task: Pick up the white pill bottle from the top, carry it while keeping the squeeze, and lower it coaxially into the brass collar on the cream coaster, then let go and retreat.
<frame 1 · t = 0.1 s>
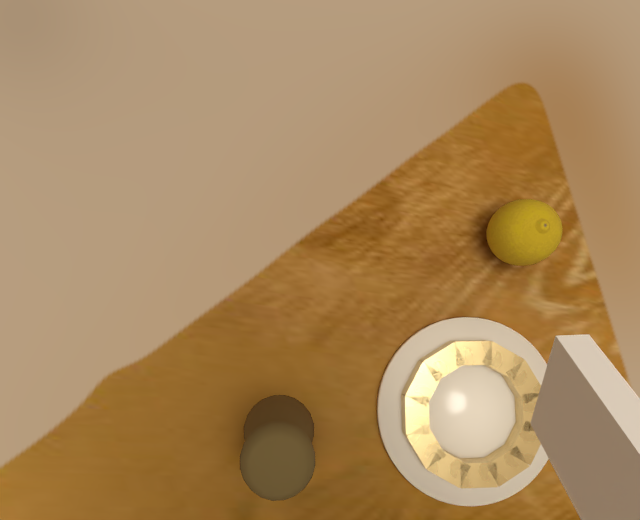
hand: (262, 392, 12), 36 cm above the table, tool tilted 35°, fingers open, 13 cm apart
coaster: (466, 408, 48), on the table
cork: (279, 430, 47), on the table
lemon: (502, 239, 50), on the table
collar: (473, 411, 47), on the coaster, point 1 cm above the table
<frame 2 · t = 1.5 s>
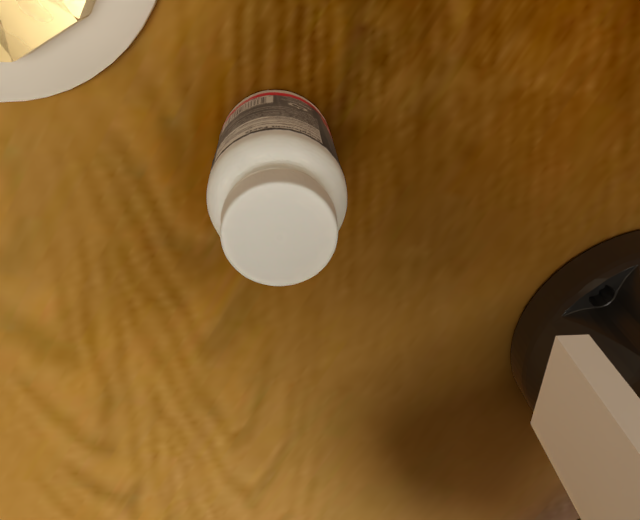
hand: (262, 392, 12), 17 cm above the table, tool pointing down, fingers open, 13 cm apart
pill bottle: (276, 141, 27), on the table
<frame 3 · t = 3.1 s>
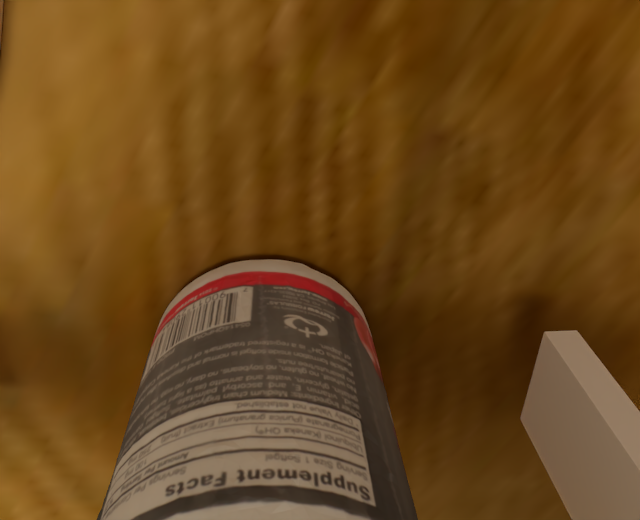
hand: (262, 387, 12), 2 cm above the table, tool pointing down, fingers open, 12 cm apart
pill bottle: (266, 337, 14), on the table
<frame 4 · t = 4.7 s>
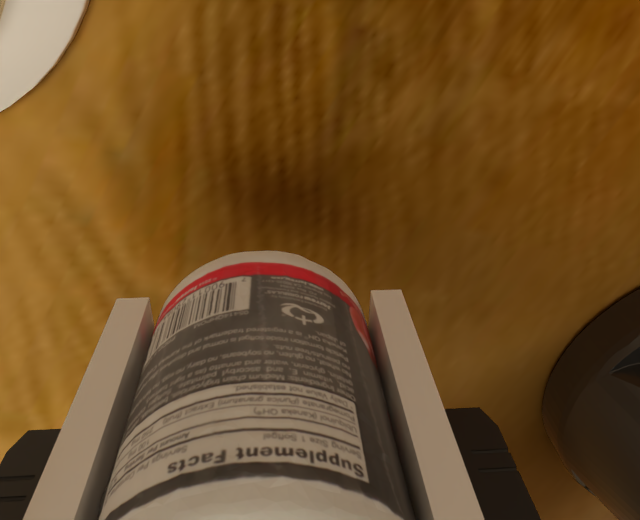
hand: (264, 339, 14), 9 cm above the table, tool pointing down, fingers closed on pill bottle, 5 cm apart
pill bottle: (264, 328, 14), point 8 cm above the table, touching gripper
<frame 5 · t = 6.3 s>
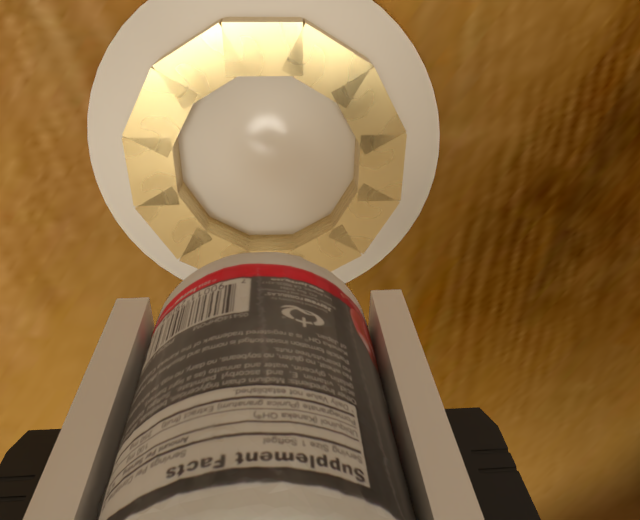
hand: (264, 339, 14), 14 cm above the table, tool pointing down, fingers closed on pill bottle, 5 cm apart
coaster: (268, 152, 26), on the table
collar: (268, 164, 25), on the coaster, point 1 cm above the table
pill bottle: (264, 329, 14), point 14 cm above the table, touching gripper
when the fingers open (4 cm above the table, at t = 8.3 s): pill bottle drops 3 cm, resting on coaster.
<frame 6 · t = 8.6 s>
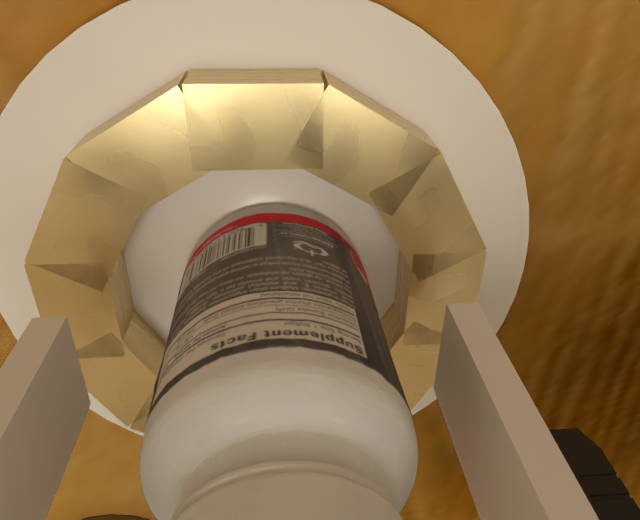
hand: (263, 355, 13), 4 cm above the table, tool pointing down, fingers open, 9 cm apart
coaster: (265, 262, 17), on the table
collar: (264, 290, 16), on the coaster, point 1 cm above the table
pill bottle: (275, 277, 17), point 1 cm above the table, touching coaster
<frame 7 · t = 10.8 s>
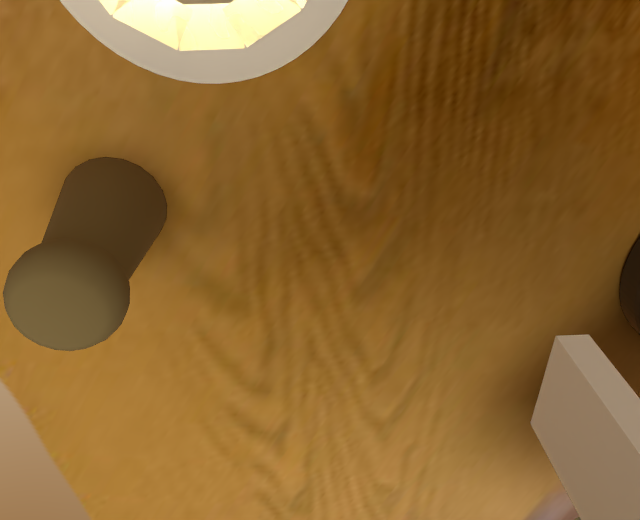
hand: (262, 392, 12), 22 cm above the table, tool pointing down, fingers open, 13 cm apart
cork: (115, 203, 33), on the table
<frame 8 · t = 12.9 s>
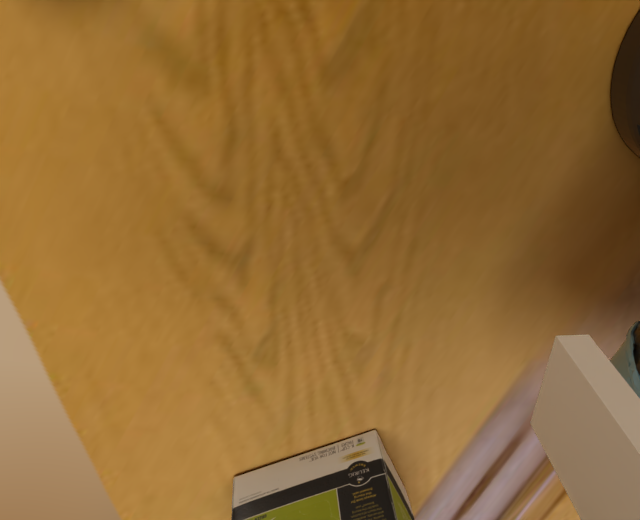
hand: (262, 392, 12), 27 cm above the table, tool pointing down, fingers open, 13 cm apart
tea box: (322, 478, 55), on the table
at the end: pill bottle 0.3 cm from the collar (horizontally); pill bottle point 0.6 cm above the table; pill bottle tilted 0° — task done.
